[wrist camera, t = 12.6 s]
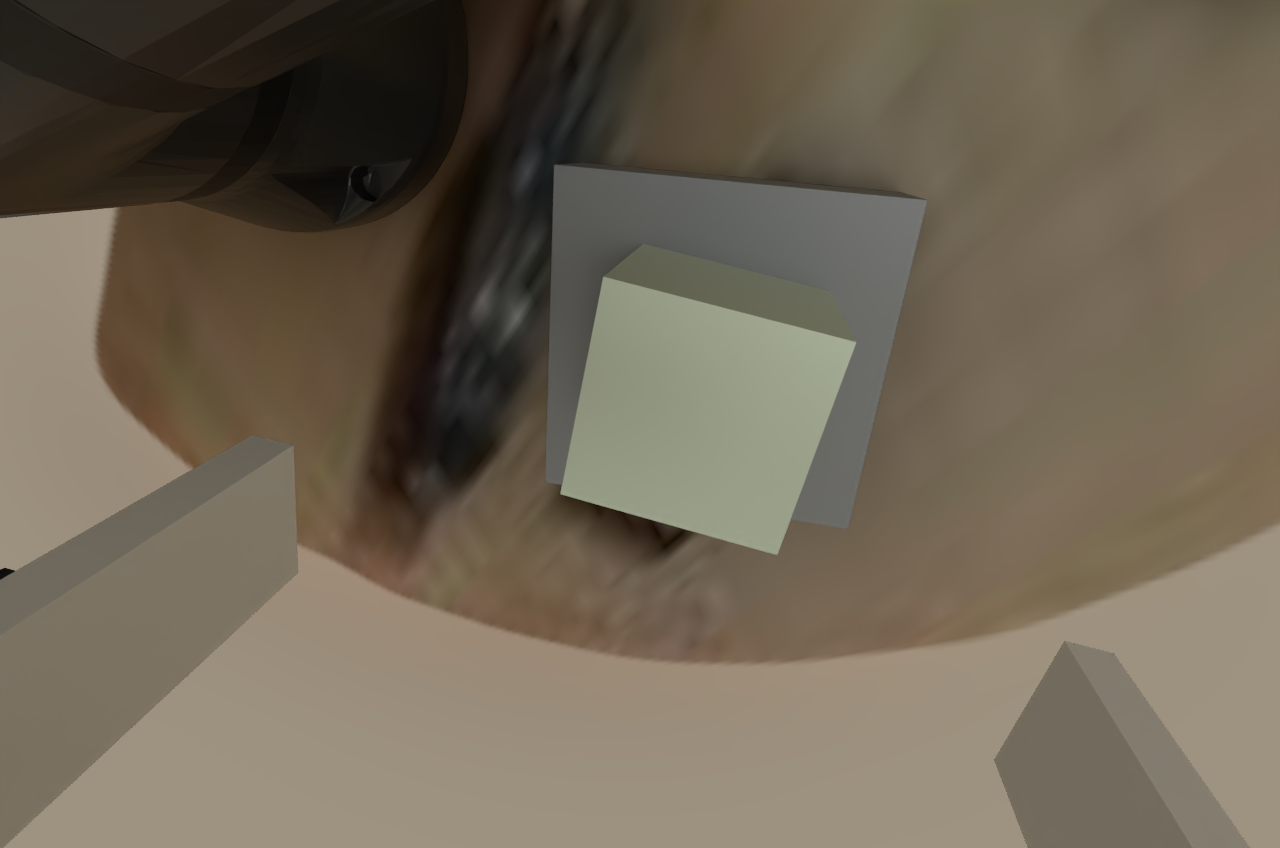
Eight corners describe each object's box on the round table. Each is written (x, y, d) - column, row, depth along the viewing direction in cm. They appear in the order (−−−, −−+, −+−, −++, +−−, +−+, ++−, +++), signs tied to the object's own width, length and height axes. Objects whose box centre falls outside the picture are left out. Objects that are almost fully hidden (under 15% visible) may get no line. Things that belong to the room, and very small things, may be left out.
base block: (574, 437, 33) (545, 482, 29) (586, 162, 28) (554, 164, 24) (835, 474, 32) (848, 529, 27) (898, 191, 27) (927, 200, 22)
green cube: (606, 413, 27) (560, 494, 21) (643, 243, 24) (603, 276, 18) (772, 458, 27) (777, 554, 20) (830, 291, 24) (856, 342, 18)
